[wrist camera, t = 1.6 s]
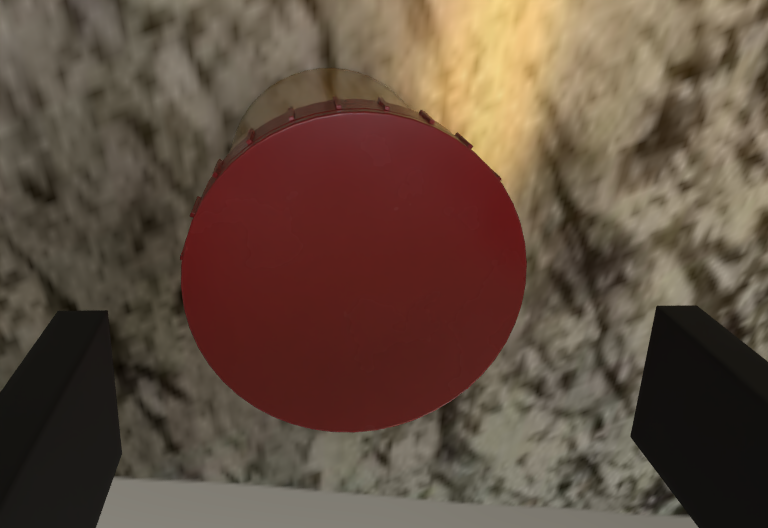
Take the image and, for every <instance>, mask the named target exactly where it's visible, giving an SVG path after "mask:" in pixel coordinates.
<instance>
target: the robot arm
mask: <svg viewBox="0 0 768 528" xmlns="http://www.w3.org/2000/svg"><path fill="white" fill-rule="evenodd" d="M630 437H631V438H632V439H633V441H634V442H635V443H636V445H637V446H638V447H639V449H640V450H641V451H642V453H643V454H644V455H645V457H646V458H647V459H648V461H649V462H650V463H651V465H652V466H653V467H654V469H655V470H656V471H657V473H658V474H659V475H660V477H661V478H662V479H663V481H664V482H665V483H666V485H667V486H668V487H669V489H670V490H671V491H672V493H673V494H674V495H675V497H676V498H677V499H678V501H679V502H680V503H681V505H682V506H683V507H684V509H685V510H686V511H687V513H688V514H689V515H690V517H691V518H692V519H693V521H694V522H695V523H696V525H697V526H698V527H699V528H768V362H767V361H766V360H765V359H764V358H762V357H761V356H760V355H759V354H757V353H756V352H755V351H753V350H752V349H751V348H750V347H748V346H747V345H746V344H745V343H743V342H742V341H741V340H740V339H738V338H737V337H736V336H735V335H733V334H732V333H731V332H729V331H728V330H727V329H726V328H724V327H723V326H722V325H721V324H719V323H718V322H717V321H716V320H714V319H713V318H712V317H711V316H709V315H708V314H707V313H706V312H704V311H703V310H702V309H700V308H699V307H698V306H657V307H656V312H655V317H654V322H653V326H652V331H651V336H650V341H649V346H648V351H647V356H646V361H645V366H644V371H643V376H642V381H641V386H640V391H639V396H638V401H637V406H636V411H635V416H634V421H633V426H632V431H631V436H630ZM121 455H122V449H121V439H120V429H119V419H118V409H117V399H116V389H115V379H114V369H113V359H112V349H111V339H110V329H109V319H108V310H105V311H57V313H56V314H55V316H54V317H53V318H52V320H51V321H50V323H49V324H48V326H47V327H46V328H45V330H44V331H43V333H42V334H41V336H40V337H39V338H38V340H37V341H36V343H35V344H34V345H33V347H32V348H31V350H30V351H29V353H28V354H27V355H26V357H25V358H24V360H23V361H22V363H21V364H20V365H19V367H18V368H17V370H16V371H15V372H14V374H13V375H12V377H11V378H10V380H9V381H8V382H7V384H6V385H5V387H4V388H3V389H2V391H1V392H0V528H96V525H97V523H98V520H99V516H100V514H101V511H102V508H103V505H104V503H105V500H106V497H107V494H108V492H109V489H110V486H111V483H112V480H113V477H114V475H115V472H116V469H117V466H118V463H119V461H120V458H121Z"/></svg>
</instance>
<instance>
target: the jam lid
mask: <svg viewBox="0 0 768 528" xmlns="http://www.w3.org/2000/svg"><path fill="white" fill-rule="evenodd" d="M472 147H473V146H472V145H471V144H470V143H469V142H468V141H467V140H465V139H464V138H463V137H462V136H461V135H460V134H459V133H456V134H455V135H454V134H453V133H451V132H450V131H449V130H447V129H446V128H445V127H443V126H442V125H441V124H439V123H437V122H436V121H434V120H433V119H432V118H431V117H430V116H429V115H428V114H427V113H426V112H425V111H423V110H420V112H419V113H418V112H416V111H413V110H411V109H408V108H405V107H403V106H399V105H395V104H391V103H387V102H386V101H385V100H384V99H383V98H380V97H378V101H376V100H365V99H338V97H337V96H333V100H330V101H324V102H318V103H313V104H310V105H306V106H303V107H300V108H297V109H293V106H292V107H289V108H288V112H287V113H284V114H282V115H280V116H278V117H276V118H274V119H272V120H270V121H268V122H267V123H265V124H264V125H262V126H261V127H259V128H258V129H256V130H254V129H253V128H251V129H250V130H249V131H248V135H247V137H246V138H245V139H243V140H242V141H241V142H240V143H239V144H238V145H236V146H235V147H234V149H233V150H232V151H231V152H230V153H229V154H228V155H227V156H226V158H225V159H224V160H223V161H222V160H221V159H219V160H218V161H217V164H216V166H215V169H214V172H213V175H212V177H211V178H210V180H209V182H208V184H207V186H206V188H205V190H204V192H203V194H202V197H199V196H197V199H196V201H195V204H194V206H193V209H192V211H191V214H190V217H193V219H192V222H191V225H190V228H189V232H188V235H187V238H186V241H185V245H184V247H183V250H182V253H181V255H180V260H182V264H181V290H182V299H183V305H184V310H185V314H186V317H187V321H188V324H189V328H190V330H191V333H192V335H193V337H194V339H195V341H196V344H197V346H198V348H199V350H200V351H201V353H202V354H203V356H204V358H205V359H206V361H207V362H208V364H209V365H210V367H211V368H212V369H213V370H214V371H215V373H216V374H217V375H218V376H219V377H220V379H221V380H222V381H223V382H224V383H225V384H226V385H227V386H228V387H230V388H231V389H232V390H233V391H234V392H235V393H236V394H237V395H238V396H240V397H241V398H243V399H244V400H246V401H247V402H248V403H250V404H251V405H253V406H254V407H256V408H258V409H259V410H261V411H263V412H265V413H267V414H269V415H271V416H273V417H275V418H278V419H280V420H283V421H286V422H288V423H291V424H294V425H298V426H302V427H306V428H310V429H315V430H322V431H329V432H363V431H374V430H379V429H384V428H389V427H394V426H397V425H400V424H404V423H407V422H410V421H413V420H416V419H418V418H420V417H422V416H424V415H427V414H429V413H431V412H433V411H435V410H437V409H438V408H440V407H442V406H444V405H445V404H447V403H449V402H450V401H452V400H453V399H454V398H456V397H457V396H458V395H460V394H461V393H462V392H464V391H465V390H466V389H468V388H469V387H470V386H471V385H472V384H473V383H474V382H475V381H476V380H477V379H478V378H479V377H480V376H481V375H482V374H483V373H484V372H485V371H486V370H487V368H488V367H489V366H490V365H491V364H492V362H493V361H494V360H495V359H496V357H497V356H498V354H499V352H500V351H501V349H502V348H503V346H504V345H505V343H506V342H507V339H508V337H509V335H510V333H511V331H512V329H513V327H514V325H515V323H516V320H517V317H518V314H519V311H520V308H521V305H522V300H523V295H524V289H525V284H526V267H527V261H526V249H525V241H524V236H523V232H522V227H521V223H520V220H519V217H518V214H517V212H516V210H515V207H514V204H513V202H512V201H511V199H510V197H509V195H508V193H507V192H506V190H505V188H504V186H503V184H502V183H501V182H500V181H501V178H500V176H498V175H497V174H496V173H495V172H494V171H493V170H492V169H491V168H490V167H489V166H488V165H487V164H486V163H485V162H484V161H483V160H482V159H481V158H480V157H479V156H478V155H477V154H476V153H475V152H474V151H472V150H471V148H472Z"/></svg>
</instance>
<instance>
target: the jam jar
mask: <svg viewBox="0 0 768 528" xmlns="http://www.w3.org/2000/svg"><path fill="white" fill-rule="evenodd" d="M333 96H337V97H338V99H365V100H376V101H378V97H380V98H383V99H384V100H385V101H386V102H387V103H391V104H395V105H399V106H403V107H405V108H408V109H410V108H409V107H408V106H407V105H406V104H405V103H404V102H403V101H402V100H401V99H400V98H399V97H398V96H397V95H396V94H395V93H394V92H393V91H392V90H390V89H389V88H388V87H386V86H385V85H384V84H382V83H380V82H379V81H377V80H375V79H373V78H371V77H369V76H366V75H364V74H361V73H359V72H354V71H350V70H346V69H337V68H319V69H313V70H307V71H303V72H300V73H297V74H293V75H291V76H289V77H287V78H284V79H282V80H280V81H279V82H277V83H276V84H274V85H272V86H271V87H269V88H268V89H267V90H266V91H265V92H263V93H262V94H261V95H260V96H259V97H258V98H257V99H256V100H255V101H254V102H253V104H252V105H251V106H250V107H249V109H248V110H247V112H246V113H245V115H244V116H243V118H242V120H241V122H240V124H239V126H238V128H237V130H236V133H235V136H234V140H233V143H232V146H231V149H230V152H231V151H232V150H233V149H234V147H235V146H236V145H238V144H239V143H240V142H241V141H242V140H243V139H245V138H246V137H247V135H248V131H249V130H250V129H251V128H253V129H254V130H256V129H258V128H259V127H261V126H262V125H264V124H265V123H267V122H268V121H270V120H272V119H274V118H276V117H278V116H280V115H282V114H284V113H287V112H288V108H289V107H292V106H293V109H297V108H300V107H303V106H306V105H310V104H313V103H318V102H324V101H330V100H333ZM230 152H229V153H230Z"/></svg>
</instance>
